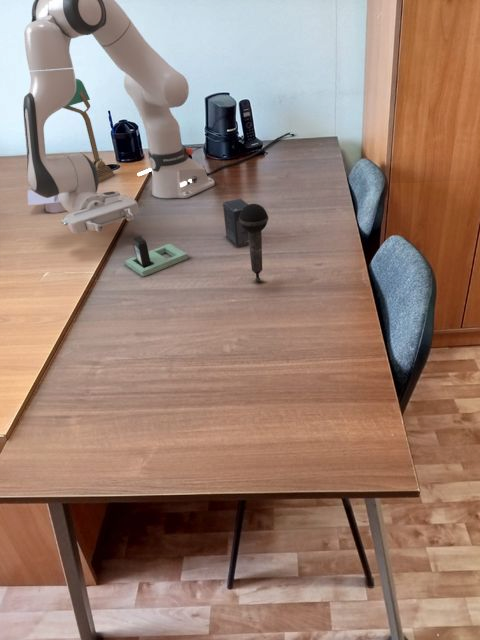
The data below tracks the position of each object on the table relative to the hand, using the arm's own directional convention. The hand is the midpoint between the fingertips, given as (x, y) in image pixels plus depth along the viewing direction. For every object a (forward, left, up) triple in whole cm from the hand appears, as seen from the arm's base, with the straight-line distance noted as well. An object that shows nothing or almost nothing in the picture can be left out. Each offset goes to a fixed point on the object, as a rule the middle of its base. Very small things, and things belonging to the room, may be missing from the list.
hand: (115, 223), depth 143 cm
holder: (-4, +12, -9) cm, 15 cm away
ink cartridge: (0, +12, -9) cm, 15 cm away
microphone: (-16, +40, -9) cm, 44 cm away
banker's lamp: (-19, -64, -9) cm, 67 cm away
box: (-28, +18, -9) cm, 34 cm away
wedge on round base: (0, -48, -9) cm, 49 cm away
